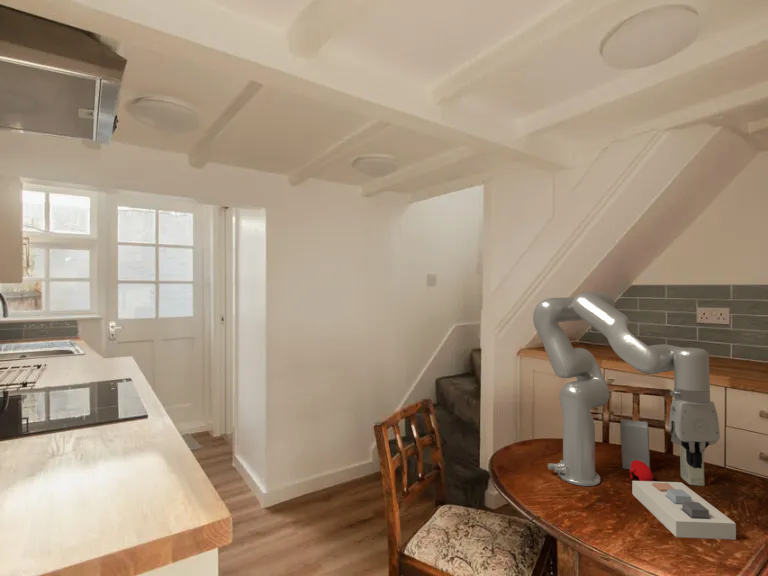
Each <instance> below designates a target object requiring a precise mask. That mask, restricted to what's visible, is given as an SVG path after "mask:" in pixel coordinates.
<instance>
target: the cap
mask: <svg viewBox="0 0 768 576" xmlns="http://www.w3.org/2000/svg"><path fill="white" fill-rule="evenodd" d="M628 472H629V475H630V479H631V480H633V478H634V477H633V476H634V475H635V476H636V477H638V481H653V478H655V476H654V474H653V472H652V470H651V467H650V468H649V467H648V466H647V465H646V464H645V463H644V462H642V461H639V460H634V461H632V463H631V469H630V470H629V471H628ZM633 474H634V475H633Z"/></svg>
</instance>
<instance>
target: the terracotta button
mask: <svg viewBox="0 0 768 576" xmlns="http://www.w3.org/2000/svg"><path fill="white" fill-rule="evenodd" d="M653 486H654V487H656V488H657V489H658V490H659V491H660V492H667V489H674V488H673V487H672V486H671V485H669V484H668V483H653Z"/></svg>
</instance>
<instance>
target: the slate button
mask: <svg viewBox="0 0 768 576" xmlns="http://www.w3.org/2000/svg"><path fill="white" fill-rule="evenodd" d="M667 498H668V499H669V500H671V501H672V502H673V503H674V504H682V502H691V496H690V495H688V494H687V493H686V492H685V491H683V490H681V489H667Z"/></svg>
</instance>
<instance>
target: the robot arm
mask: <svg viewBox="0 0 768 576" xmlns="http://www.w3.org/2000/svg"><path fill="white" fill-rule="evenodd" d="M532 316H533V317H532V321H533V325H534V328H535V331H536V332H537V334H538V337H539V338H540V340H541V342H542V344H543V348H544V350H545V352H546V355H547V357H548V360H549V363H550V364H551V367H552V369H553V373H554V374H555V376H557V377H559V378H561V379H571V378H576V380H573V381H570V382H567V383H565V384H564V385H563V386H562V387H561V389H560V391H559V402H560V406H561V413H562V459H560V460H559V461H560V462H557V463H553V462H551V463H547V468H548V469H547V470H549V471H550V470H553V471H554V473H557V475H558V477H559V478H560V479H562V481H564V482H566V481H567V483H568V484H569V483H570V484H572V485H576V486H581V487H593V486H597V485H599V484H600V483H601V476H600V475H599V474H598V473H597V472H596V437H595V436H596V433H595V432H596V431H595V428H596V427H595V426H596V425H595V419H594V418H593V415H592V411H591V410H592V409H595V408H600V407H602V406H604V405H606V404H607V403H608V401H609V399H610V390H609V386H608V384H607V381H606V379H605V377H604V374H603V372H602V370H601V368H600V365H599V363H598V361H597V359H596V357H595V356H594V355H593V354H592V352H590V351H589V350H588V349H586V348H582V347H575V348H574V347H573V345H572V343H571V341H570V338H569V336H568V334H567V332H566V331H565V330H564V329H563V328H562V327H561V326H560V325H559V323H565V322H578V321H584V322H586V323H587V324H588V325H590V326H592V328H593V329H595V330H597V332H599V333H600V334H602V335H603V336H604V337H605V338H607V341H608V344H609V346H611V349H612V351H613V352H614V353H615V354H616V355H617V356H618V358H620V359H622V360H623V361H624V362H626V363H627V365H629V366H630V367H632V368H633V369H634V370H636V371H638V372H640V373H642V374H646V375H657V374H660V373H668V372H673V383H674V385H673V386H674V387H673V390H671V391H669V395H670V397H674V398H673V399H672V401H671V404H670V405H671V406H670V411H669V412H670V413H669V432H670V435H671V438H670V442H671V443H673V444H676V445H679V446H680V445H682V446H683V447H684V449H686V461H687V463H688V465H690V466H692V467H693V468H702V453H705V451H706V448H708V446H712V445H716V444H717V442H718V441H719V440H720V438H721V437H720V436H721V435H720V434H721V433H720V432H721V431H720V424H719V416H718V412H717V409H716V406H715V402H714V401H711V386H710V385H711V384H710V382H711V379H710V357H709V356H710V355H709V353H708V351H707V350H705V349H703V348H699V347H698V348H697V347H682V346H681V347H680V346H677V345H671V344H666V343H665V344H664V343H663V344H662V343H660V344H653V345H647V344H646V343H644V342H643V341H642V340H640V339H639V338H637V337H636V336H635V335H633V334H632V333H631V332H630V330H629V329H628V326H629V324H630V321H629V320H630V319H629V318H628V316H627V315H626V314H624V313H623V312H621V311H620V310H618V309H617V308H616V303H615V300H614V298H613V297H612V296H611V295H610V294H608V292H604V291H584V292H581V293H579V294H577V295H575V296H573V297H571V296H569V297H549V298H545V299H543V300H541V301H540V302H539V303H538V304H536V306H535V308H534V311H533V315H532Z"/></svg>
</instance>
